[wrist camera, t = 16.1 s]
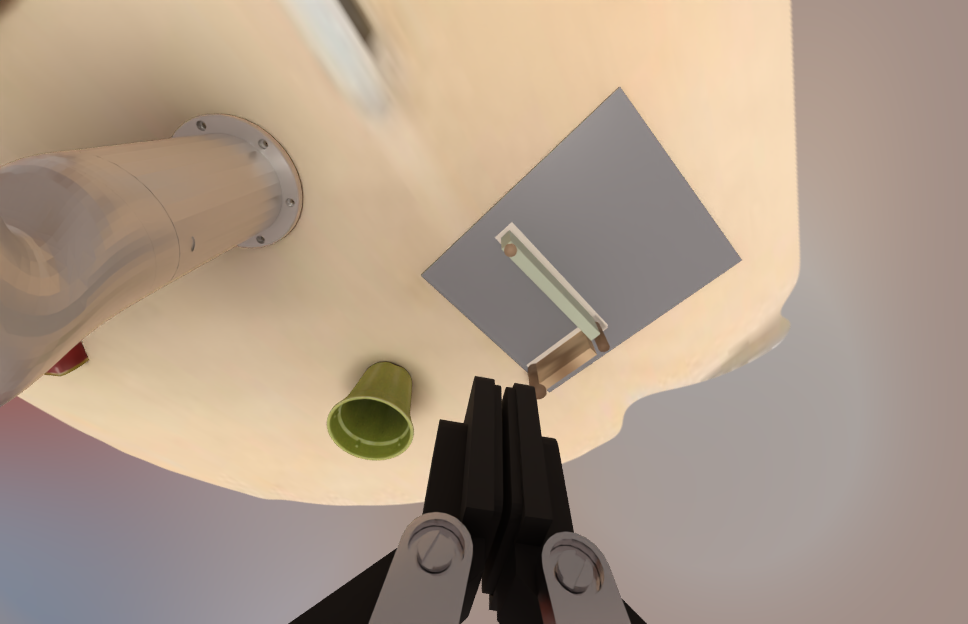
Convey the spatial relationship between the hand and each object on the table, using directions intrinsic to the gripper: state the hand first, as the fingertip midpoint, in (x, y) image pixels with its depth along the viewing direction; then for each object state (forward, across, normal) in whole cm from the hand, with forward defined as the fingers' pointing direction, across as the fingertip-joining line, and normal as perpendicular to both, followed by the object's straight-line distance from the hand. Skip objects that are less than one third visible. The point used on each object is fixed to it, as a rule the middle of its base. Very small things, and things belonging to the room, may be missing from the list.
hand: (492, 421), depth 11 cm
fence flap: (+31, -8, +8) cm, 33 cm away
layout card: (+32, -10, +6) cm, 34 cm away
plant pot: (+32, +8, +26) cm, 42 cm away
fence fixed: (+32, -12, +16) cm, 38 cm away
